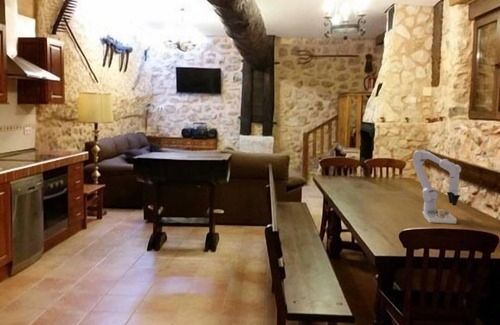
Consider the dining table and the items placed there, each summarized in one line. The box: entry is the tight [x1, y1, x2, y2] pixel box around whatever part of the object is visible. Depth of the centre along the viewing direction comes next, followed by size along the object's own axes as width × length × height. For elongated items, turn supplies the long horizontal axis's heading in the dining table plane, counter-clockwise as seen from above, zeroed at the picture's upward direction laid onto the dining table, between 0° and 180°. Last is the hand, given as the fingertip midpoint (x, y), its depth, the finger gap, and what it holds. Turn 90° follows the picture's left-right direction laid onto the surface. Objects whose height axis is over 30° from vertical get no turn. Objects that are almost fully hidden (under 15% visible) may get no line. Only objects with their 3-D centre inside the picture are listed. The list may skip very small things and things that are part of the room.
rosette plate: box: [423, 209, 458, 225], centre depth 312 cm, size 18×16×5 cm
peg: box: [437, 208, 446, 217], centre depth 310 cm, size 3×3×7 cm
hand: (452, 204), depth 316 cm, fingers open, 7 cm apart
